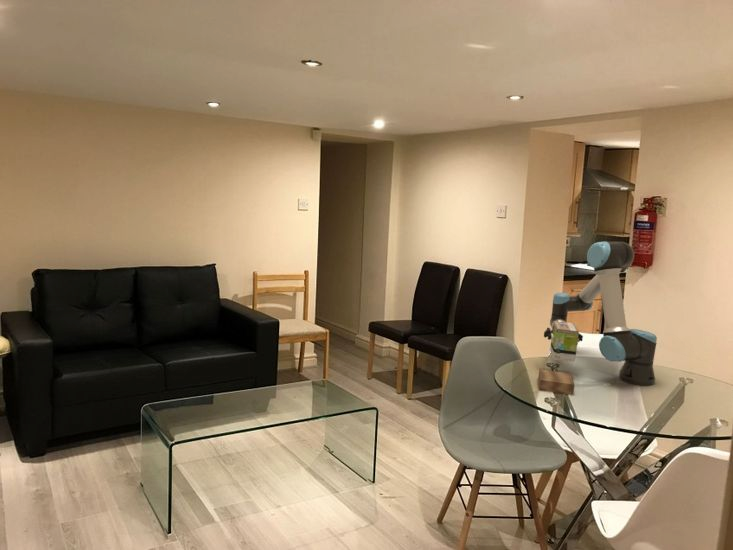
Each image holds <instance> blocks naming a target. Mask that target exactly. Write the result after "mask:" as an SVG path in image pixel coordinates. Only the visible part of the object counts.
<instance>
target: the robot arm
mask: <svg viewBox="0 0 733 550" xmlns="http://www.w3.org/2000/svg"><path fill="white" fill-rule="evenodd" d="M586 260H587V261H586V262H587V263H588V265H589V266H590V267H591V268H593V270H594V274H595V276H593V278H592V279H590V281H589V282H588V283H587V284H586V285H585V286H584V287H583V288H582V290H581V291H579V293H577V295H576V296H570V295H569V294H568V293H565V292H555V293H554V294H553V297H552V307H551V309H552V310H551V311H552V312H551V318H550V320H549V321H550V322H549V325H550V327H551V328H550V327H547V328H546V329H545V331H544V333H543V337H544V338H547V340H549V341H550V343H551V342H553V341H554V336H553V333H552V330H553V322H554V321H555V322H565V323H568V322H567V321H568V314H569V312H583V311H589V310H590V309H592V307H593V304H594V302H593V301H595V299H596V298H597V297H598V296H599V295H600V294H601V295H600V296H601V302H602V310H603V316H604V317H603V318H604V324H605V329H604V330H603V332H602V334H603V335H602V337H601V339H600V340H599V343H598V347H599V351H600V354H601V355H602V357H603V358H605V359H606V360H607V361H609V362H613V363H614V362H617V363H619V362H620V363H621V362H624V363H623V365H622V366H621V368H620V370H619V373H618V377H619V379H620V380H622V381H624V382H626V383H629V384H631V385H632V384H634V385H637V386H652V385H655V381H656V376H655V371H654V360H655V355H656V354H655V353H656V348H657V347H656V346H657V339H658V338H657V336H656V334H655V333H653V332H649V331H646V330H643V329H637V328H631V329H630V328H629V327H628V325H627V320H626V314H625V309H624V308H625V307H624V299H623V293H622V285H621V281H620V274H621V273H625V272H626V271H627V270H629V268H630V267H631V266H632V264H633V262H634V260H635V251H634V249H633V246H631V245H630V244H629V243H626V242H624V241H598V242H595V243H593V244H592V245H590V247H589V249H587V253H586ZM583 338H584V336H583V335H582V334H581V333H579V335H578V343H577V346H578V345H579V343H580V342H583Z"/></svg>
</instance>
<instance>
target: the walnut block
mask: <svg viewBox="0 0 733 550" xmlns="http://www.w3.org/2000/svg"><path fill="white" fill-rule="evenodd" d="M537 379H538V380H537V382H538V391H544V392H551V393H557V394H565V395H571V396H573V395H574V392H575V380H574V376H573V373H571V372H570V373H569V372H562V371H554V370H548V369H538V378H537Z"/></svg>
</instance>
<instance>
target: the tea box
mask: <svg viewBox="0 0 733 550" xmlns="http://www.w3.org/2000/svg"><path fill="white" fill-rule="evenodd" d="M551 330H552V329H551ZM579 332H580V331H579V329H578V327H577V325H576V324H575V323H573V322H566V323H565V322H555V321H554V322H553V330H552V333H553V336H554V341H553V342H551V341H550V348H549V350H550V354H551V356H552V359H553V360H556V361H563V362H572V363H574V362H575V361H576V358H577V357H576V356H577V349H578V348H577V347H578V345H577V343H578V344H579V342H578V335H579V334H580V333H579Z"/></svg>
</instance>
